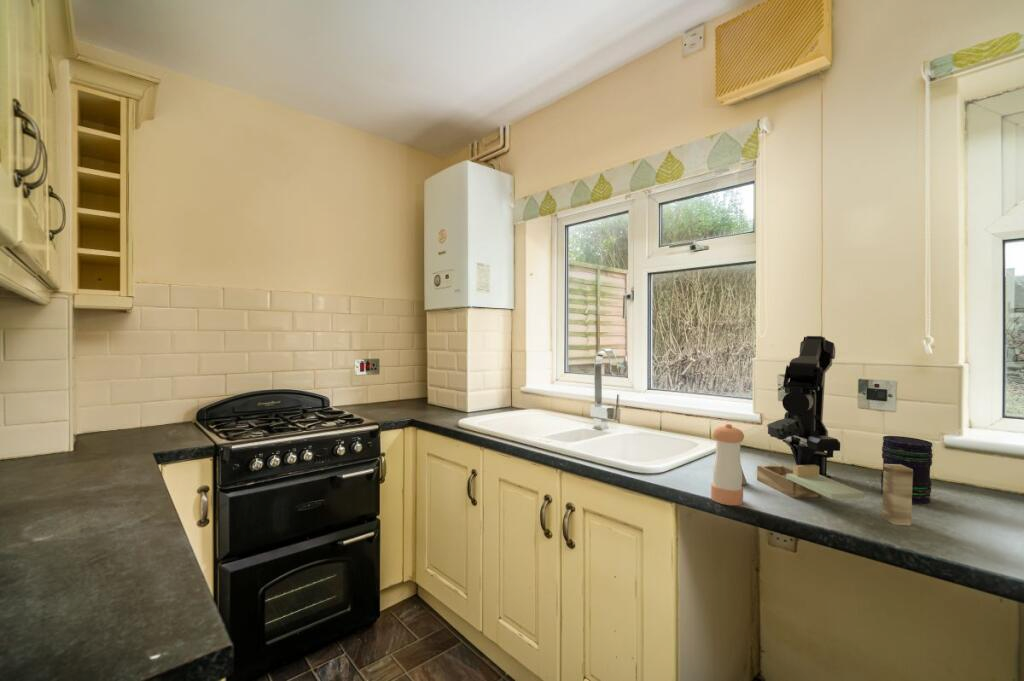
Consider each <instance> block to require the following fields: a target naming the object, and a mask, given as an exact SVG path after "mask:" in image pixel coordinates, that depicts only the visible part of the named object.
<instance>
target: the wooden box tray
mask: <svg viewBox="0 0 1024 681" xmlns="http://www.w3.org/2000/svg"><path fill="white" fill-rule="evenodd" d="M786 474H793V468H790V467H788V466H785V465H783V464H782V465H779V464H778V465H757V468H756V480H757V481H758V482H759V483H760V482H761V483H763V484H764V485H766V486H768V487H770V488H772V489H774V490H776V491H777V492H780V493H782V494H783V495H785V496H788V497H790V498H792V499H797V498H798V499H801V498H803V499H805V498H822V495H821V494H819V493H817V492H815V491H813V490H811V489H808V488H806V487H804V486H802V485H800V484H797V483H795V482H793V481H791V480H789V479H786Z"/></svg>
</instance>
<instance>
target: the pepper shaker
mask: <svg viewBox="0 0 1024 681" xmlns="http://www.w3.org/2000/svg"><path fill="white" fill-rule="evenodd" d="M712 436H713V438H714V439H715V440H716V441H715V442H716V444H715V458H714V463H713V469H712V483H711V484H710V486H711V487H710V488H711V489H710V498H711V500H712V501H714V502H716V503H718V504H721V505H726V506H741V505H742V504H743V503H744V488H743V485H742V470H743V468H742V469H741V467H742V464H741V462H742V461H741V443H742V442H743V440H744V439H745V434H744V432H743V431H742V430H741V429H739V428H737V427H734V426H732V424H730V423H725V425H724V426H723V425H722V426H718V427H716V428H715V429H714V430H713V432H712Z"/></svg>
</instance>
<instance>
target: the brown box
mask: <svg viewBox="0 0 1024 681" xmlns="http://www.w3.org/2000/svg"><path fill="white" fill-rule="evenodd" d="M883 470H884V472H883ZM882 472H883V495H882V500H881V501H882V502H881V503H882V505H881V508H882V509H881V518H882V519H883V520H885V521H886V522H889V523H890V524H892V525H895V526H896V525H900V526H912V507H913V506H912V505H913V504H912V482H913V469H911V468H908V467H906V466H903V465H899V464H884V466H883V465H882Z"/></svg>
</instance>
